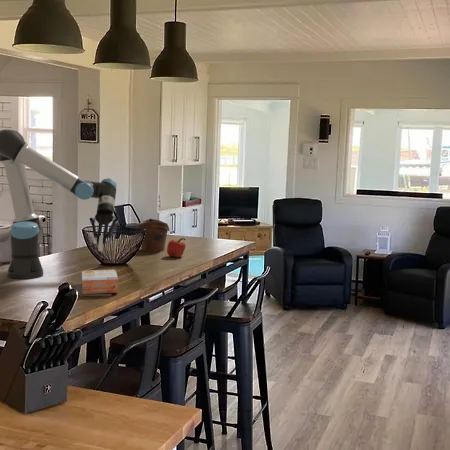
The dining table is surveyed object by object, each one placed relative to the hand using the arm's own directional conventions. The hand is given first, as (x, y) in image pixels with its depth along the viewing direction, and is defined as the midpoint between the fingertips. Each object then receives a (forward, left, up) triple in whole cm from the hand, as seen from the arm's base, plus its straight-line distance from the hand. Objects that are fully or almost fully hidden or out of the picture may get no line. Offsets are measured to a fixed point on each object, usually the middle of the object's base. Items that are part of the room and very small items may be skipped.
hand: (100, 249), depth 273 cm
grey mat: (0, -22, -13) cm, 25 cm away
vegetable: (+32, +59, -13) cm, 69 cm away
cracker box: (+1, -10, -10) cm, 14 cm away
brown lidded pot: (+18, +81, -13) cm, 85 cm away
